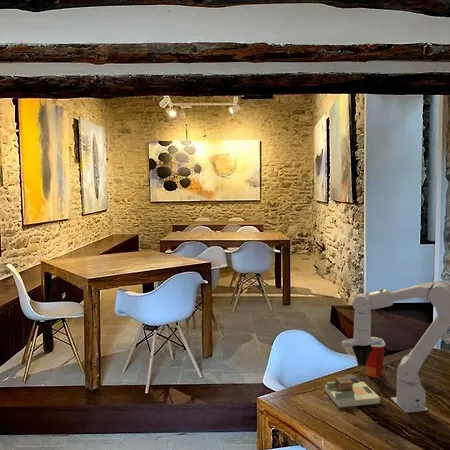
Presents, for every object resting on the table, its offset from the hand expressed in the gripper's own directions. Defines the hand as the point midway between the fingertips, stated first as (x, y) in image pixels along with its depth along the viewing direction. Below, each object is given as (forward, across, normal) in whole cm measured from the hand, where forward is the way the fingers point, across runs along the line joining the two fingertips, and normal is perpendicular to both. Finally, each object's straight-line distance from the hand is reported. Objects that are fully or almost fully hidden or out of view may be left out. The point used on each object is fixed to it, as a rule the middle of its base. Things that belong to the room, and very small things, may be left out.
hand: (361, 365), depth 156 cm
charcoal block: (+10, +1, -6) cm, 12 cm away
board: (+10, +4, +2) cm, 12 cm away
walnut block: (+8, +8, +2) cm, 11 cm away
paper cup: (+11, -12, -13) cm, 21 cm away
